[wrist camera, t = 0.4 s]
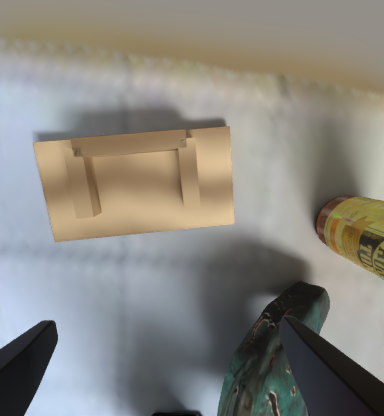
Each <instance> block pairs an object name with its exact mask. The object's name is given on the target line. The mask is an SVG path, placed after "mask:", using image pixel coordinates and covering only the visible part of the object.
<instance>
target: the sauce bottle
mask: <svg viewBox="0 0 384 416" xmlns="http://www.w3.org/2000/svg"><path fill="white" fill-rule="evenodd" d="M317 234H318V235H319V238H320V240H321V241H322V242H323V243H324V244H326V245H327V246H328V247H329V248H330V249H331V250H332V251H334V252H335V253H337V254H339V255H341V256H343V257H344V258H346V259H348V260H350V261H351V262H353V263H355V264H357V265H359V266H360V267H362V268H364V269H366V270H368V271H369V272H371V273H373V274H375V275H376V276H378V277H380V278H382V279H384V201H381V200H375V199H371V198H366V197H354V196H343V197H338V198H335V199H333V200H332V201H330V202H329V203H327V204H326V205H325V206H324V207H323V208H322V210H321V211H320V213H319V216H318V218H317Z"/></svg>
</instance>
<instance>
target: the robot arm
mask: <svg viewBox="0 0 384 416" xmlns="http://www.w3.org/2000/svg"><path fill="white" fill-rule="evenodd" d="M279 336H280V340H281V342H282V345H283V348H284V351H285V354H286V357H287V360H288V363H289V366H290V369H291V372H292V374H293V377H294V380H295V382H296V385H297V387H298V389H299V391H300V394H301V396H302V398H303V400H304V403H305V405H306V407H307V409H308V412H309V414H310V416H384V383H383V382H381V381H380V380H379V379H377V378H376V377H375V376H373V375H372V374H371V373H369V372H368V371H367V370H365V369H364V368H363V367H361V366H360V365H359V364H357V363H356V362H355V361H353V360H352V359H351V358H349V357H348V356H346V355H345V354H344V353H342V352H341V351H340V350H338V349H337V348H336V347H334V346H333V345H332V344H330V343H329V342H328V341H326V340H325V339H324V338H322V337H321V336H320V335H318V334H317V333H315V332H314V331H313V330H311V329H310V328H309V327H307V326H306V325H305V324H303V323H302V322H301V321H299V320H298V319H297V318H295V317H294V316H283V317H282V319H281V324H280V330H279ZM57 342H58V334H57V328H56V323H55V321H53V320H44V321H41V322H40V323H38V324H37V325H35V326H34V327H32V328H31V329H29V330H28V331H26V332H25V333H23V334H22V335H20V336H19V337H17V338H16V339H14V340H13V341H11V342H10V343H8V344H7V345H6V346H4V347H3V348H1V349H0V416H24V415H25V413H26V411H27V409H28V407H29V405H30V403H31V401H32V399H33V397H34V395H35V393H36V391H37V389H38V387H39V385H40V383H41V380H42V378H43V376H44V373H45V371H46V369H47V366H48V364H49V361H50V359H51V357H52V354H53V352H54V350H55V347H56V345H57ZM152 416H189V415H173V414H157V413H156V414H153V415H152Z"/></svg>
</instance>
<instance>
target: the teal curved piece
mask: <svg viewBox="0 0 384 416" xmlns="http://www.w3.org/2000/svg"><path fill="white" fill-rule="evenodd" d="M329 309H330V300H329V296H328V293H327V291H326V290H325V289H324V288H322V287H320V286H316V285H311V284H308V283H305V282H302V281H300V282H298V283H297V284H295V285H294V286H292V287H291V288H289V289H288V290H286V291H285V292H283V293H282V294H281V295H280V296H279V297H278V298H276V299H275V300H274V301H272V302H271V303H270V304H268V305H267V306H266V308H265V309H264V310H263V312H262V314H261V315H260V317H259V319H258V320H257V321H256V323H255V324H254V325H253V327H252V328H251V329H250V330H249V332H248V333H247V335H246V336H245V338H244V340H243V341H242V343H241V344H240V346H239V347H238V349H237V351H236V352H235V355H234V357H233V359H232V361H231V363H230V366H229V368H228V371H227V373H226V376H225V379H224V383H223V387H222V392H221V396H220V401H219V406H218V414H217V416H310V414H309V412H308V409H307V407H306V405H305V403H304V400H303V398H302V396H301V394H300V391H299V389H298V387H297V385H296V382H295V380H294V377H293V374H292V372H291V369H290V366H289V363H288V360H287V357H286V354H285V351H284V348H283V345H282V342H281V340H280V336H279V330H280V324H281V319H282V317H283V316H294V317H295V318H297V319H298V320H299V321H301V322H302V323H303V324H305V325H306V326H307V327H309V328H310V329H311V330H313V331H314V332H315V333H317V334H318V335H319V333H320V330H321V328H322V326H323V323H324V322H325V320H326V317H327V314H328V311H329Z"/></svg>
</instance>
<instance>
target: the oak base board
mask: <svg viewBox="0 0 384 416" xmlns="http://www.w3.org/2000/svg"><path fill="white" fill-rule="evenodd" d="M33 145H34V150H35V154H36V159H37V163H38V168H39V172H40V177H41V181H42V186H43V191H44V195H45V200H46V204H47V209H48V213H49V218H50V222H51V227H52V231H53V236H54V240H55V242H60V241H70V240H80V239H90V238H100V237H110V236H120V235H130V234H140V233H150V232H160V231H170V230H180V229H190V228H199V227H209V226H219V225H229V224H235V222H234V203H233V183H232V163H231V144H230V126H227V127H215V128H203V129H190V130H185V129H179V130H167V131H155V132H142V133H130V134H118V135H106V136H93V137H81V138H70V139H68V140H56V141H44V142H33Z"/></svg>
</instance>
